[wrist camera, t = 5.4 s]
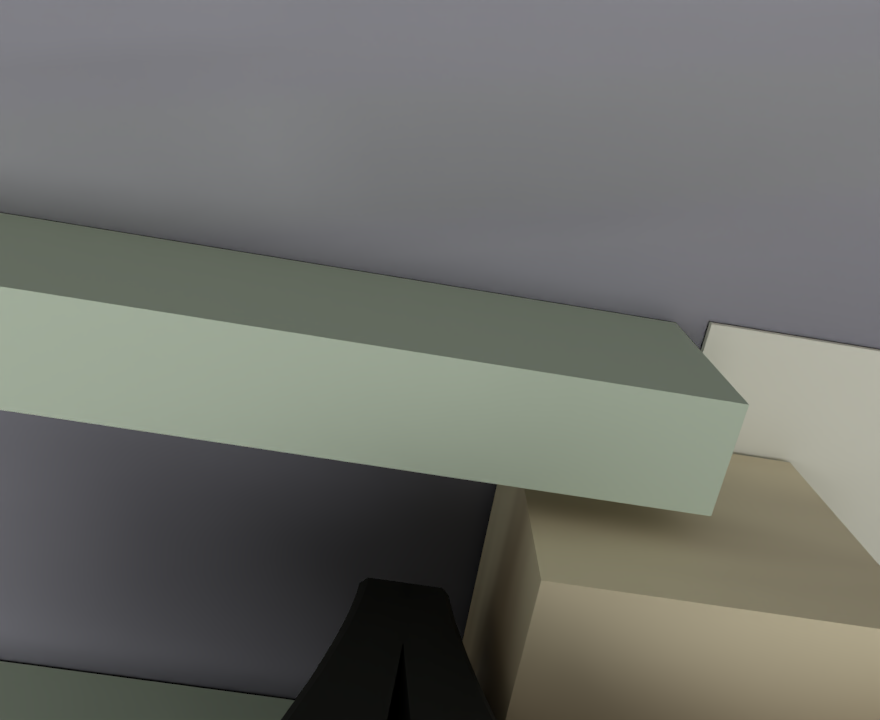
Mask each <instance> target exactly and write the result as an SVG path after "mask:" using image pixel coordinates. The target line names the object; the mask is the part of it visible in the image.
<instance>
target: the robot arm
mask: <svg viewBox="0 0 880 720" xmlns="http://www.w3.org/2000/svg"><path fill="white" fill-rule="evenodd" d="M281 720H496V718H495V716H494V714H493V712H492V710H491V708H490V706H489V704H488V701H487V699H486V697H485V695H484V692H483V690H482V688H481V686H480V684H479V681H478V679H477V677H476V675H475V672H474V670H473V667H472V665H471V663H470V660H469V658H468V655H467V652H466V650H465V647H464V644H463V642H462V639H461V636H460V634H459V631H458V628H457V625H456V622H455V619H454V615H453V612H452V608H451V605H450V601H449V596H448V595H447V593H446V592H445V591H444V589H443V588H438V587H431V586H424V585H417V584H409V583H402V582H395V581H388V580H381V579H373V578H367V579H365V580H364V581H362V582H361V583H359V587H358V591H357V594H356V597H355V599H354V602H353V604H352V606H351V609H350V611H349V613H348V615H347V617H346V619H345V621H344V623H343V625H342V627H341V629H340V630H339V632H338V634H337V636H336V638H335V640H334V641H333V643H332V645H331V646H330V648H329V649H328V651H327V653H326V654H325V656H324V658H323V659H322V661H321V662H320V664H319V666H318V667H317V669H316V671H315V672H314V674H313V675H312V677H311V678H310V680H309V681H308V683H307V684H306V685H305V687H304V688H303V690H302V691H301V692H300V694H299V695H298V697H297V698H296V699H295V701H294V702H293V704H292V705H291V706H290V708H289V709H288V710H287V712H286V713H285V715H284V716H283V717H282V719H281Z"/></svg>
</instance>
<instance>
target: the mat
mask: <svg viewBox="0 0 880 720" xmlns="http://www.w3.org/2000/svg"><path fill="white" fill-rule="evenodd" d="M701 352H702V353H703V354H704V355H705V356H706V357H707V358H708V359H709V361H710V362H711V363H712V364H713V365H714V366H715V367H716V368H717V369H718V371H719V372H720V373H721V374H722V375H723V376H724V377H725V378H726V380H727V381H728V382H729V383H730V384H731V385H732V386H733V387H734V388H735V390H736V391H737V392H738V393H739V394H740V395H741V396H742V397H743V398H744V400H745V401H746V402H747V403H748V404H749V406H748V409H747V412H746V415H745V418H744V421H743V424H742V427H741V430H740V433H739V436H738V439H737V442H736V445H735V448H734V451H733V454H738V455H745V456H751V457H758V458H764V459H771V460H777V461H784V462H790V463H791V464H792V465H793V467H794V468H795V469H796V470H797V471H798V472H799V473H800V475H801V476H802V477H803V478H804V479H805V480H806V481H807V483H808V484H809V485H810V486H811V487H812V488H813V490H814V491H815V492H816V493H817V494H818V495H819V496H820V498H821V499H822V500H823V501H824V502H825V503H826V504H827V506H828V507H829V508H830V509H831V510H832V511H833V513H834V514H835V515H836V516H837V517H838V518H839V519H840V521H841V522H842V523H843V524H844V525H845V526H846V527H847V529H848V530H849V531H850V532H851V533H852V534H853V536H854V537H855V538H856V539H857V540H858V541H859V542H860V544H861V545H862V546H863V547H864V548H865V549H866V550H867V552H868V553H869V554H870V555H871V556H872V557H873V559H874V560H875V561H876V562H877V563H878V564H879V565H880V350H879V349H873V348H867V347H861V346H855V345H849V344H843V343H837V342H830V341H824V340H818V339H812V338H806V337H800V336H794V335H788V334H781V333H775V332H769V331H763V330H757V329H751V328H745V327H739V326H733V325H726V324H720V323H714V322H709V325H708V329H707V332H706V335H705V338H704V342H703V345H702V348H701Z"/></svg>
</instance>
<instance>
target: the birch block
mask: <svg viewBox="0 0 880 720" xmlns="http://www.w3.org/2000/svg"><path fill="white" fill-rule="evenodd" d="M462 642H463V644H464V647H465V650H466V652H467V655H468V658H469V660H470V663H471V665H472V667H473V670H474V672H475V675H476V677H477V679H478V681H479V684H480V686H481V688H482V690H483V692H484V695H485V697H486V699H487V701H488V704H489V706H490V708H491V710H492V712H493V714H494V716H495V718H496V720H880V565H879V564H878V563H877V562H876V561H875V560H874V559H873V557H872V556H871V555H870V554H869V553H868V552H867V550H866V549H865V548H864V547H863V546H862V545H861V544H860V542H859V541H858V540H857V539H856V538H855V537H854V536H853V534H852V533H851V532H850V531H849V530H848V529H847V527H846V526H845V525H844V524H843V523H842V522H841V521H840V519H839V518H838V517H837V516H836V515H835V514H834V513H833V511H832V510H831V509H830V508H829V507H828V506H827V504H826V503H825V502H824V501H823V500H822V499H821V498H820V496H819V495H818V494H817V493H816V492H815V491H814V490H813V488H812V487H811V486H810V485H809V484H808V483H807V481H806V480H805V479H804V478H803V477H802V476H801V475H800V473H799V472H798V471H797V470H796V469H795V468H794V467H793V465H792V464H791V463H790V462H784V461H777V460H771V459H764V458H758V457H751V456H745V455H738V454H732V456H731V459H730V462H729V465H728V468H727V471H726V474H725V477H724V480H723V483H722V486H721V489H720V492H719V495H718V498H717V501H716V503H715V506H714V509H713V512H712V515H711V516H706V515H699V514H692V513H686V512H679V511H672V510H666V509H659V508H652V507H645V506H639V505H632V504H625V503H619V502H612V501H605V500H599V499H592V498H585V497H579V496H572V495H565V494H559V493H552V492H545V491H539V490H532V489H525V488H519V487H512V486H505V485H499V484H497V487H496V492H495V496H494V501H493V505H492V510H491V514H490V519H489V523H488V528H487V532H486V537H485V541H484V546H483V551H482V555H481V560H480V564H479V569H478V573H477V578H476V582H475V587H474V591H473V596H472V601H471V605H470V610H469V614H468V619H467V623H466V628H465V632H464V637H463V641H462Z"/></svg>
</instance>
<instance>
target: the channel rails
mask: <svg viewBox="0 0 880 720" xmlns="http://www.w3.org/2000/svg"><path fill="white" fill-rule="evenodd" d="M748 406H749V404H748V403H747V402H746V401H745V400H744V398H743V397H742V396H741V395H740V394H739V393H738V392H737V391H736V390H735V388H734V387H733V386H732V385H731V384H730V383H729V382H728V381H727V380H726V378H725V377H724V376H723V375H722V374H721V373H720V372H719V371H718V369H717V368H716V367H715V366H714V365H713V364H712V363H711V362H710V361H709V359H708V358H707V357H706V356H705V355H704V354H703V353H702V352H701V351H700V349H699V348H698V347H697V346H696V345H695V344H694V343H693V342H692V341H691V339H690V338H689V337H688V336H687V335H686V334H685V333H684V332H683V330H682V329H681V328H680V327H679V326H678V325H677V324H676V323H674V322H668V321H662V320H656V319H650V318H643V317H637V316H631V315H625V314H619V313H613V312H607V311H600V310H594V309H588V308H582V307H576V306H570V305H564V304H557V303H551V302H545V301H539V300H533V299H527V298H521V297H514V296H508V295H502V294H496V293H490V292H484V291H478V290H472V289H465V288H459V287H453V286H447V285H441V284H435V283H429V282H422V281H416V280H410V279H404V278H398V277H392V276H386V275H379V274H373V273H367V272H361V271H355V270H349V269H343V268H336V267H330V266H324V265H318V264H312V263H306V262H300V261H294V260H287V259H281V258H275V257H269V256H263V255H257V254H251V253H244V252H238V251H232V250H226V249H220V248H214V247H208V246H201V245H195V244H189V243H183V242H177V241H171V240H165V239H159V238H152V237H146V236H140V235H134V234H128V233H122V232H116V231H109V230H103V229H97V228H91V227H85V226H79V225H73V224H66V223H60V222H54V221H48V220H42V219H36V218H30V217H23V216H17V215H11V214H5V213H0V410H5V411H11V412H18V413H25V414H31V415H38V416H45V417H51V418H58V419H65V420H71V421H78V422H85V423H91V424H98V425H105V426H111V427H118V428H125V429H131V430H138V431H145V432H151V433H158V434H165V435H171V436H178V437H185V438H191V439H198V440H205V441H212V442H218V443H225V444H232V445H238V446H245V447H252V448H258V449H265V450H272V451H278V452H285V453H292V454H298V455H305V456H312V457H318V458H325V459H332V460H338V461H345V462H352V463H358V464H365V465H372V466H378V467H385V468H392V469H398V470H405V471H412V472H418V473H425V474H432V475H438V476H445V477H452V478H459V479H465V480H472V481H479V482H485V483H492V484H499V485H505V486H512V487H519V488H525V489H532V490H539V491H545V492H552V493H559V494H565V495H572V496H579V497H585V498H592V499H599V500H605V501H612V502H619V503H625V504H632V505H639V506H645V507H652V508H659V509H666V510H672V511H679V512H686V513H692V514H699V515H706V516H711V515H712V512H713V509H714V506H715V503H716V501H717V498H718V495H719V492H720V489H721V486H722V483H723V480H724V477H725V474H726V471H727V468H728V465H729V462H730V459H731V456H732V454H733V451H734V448H735V445H736V442H737V439H738V436H739V433H740V430H741V427H742V424H743V421H744V418H745V415H746V412H747V409H748ZM294 701H295V700H289V699H281V698H274V697H266V696H259V695H251V694H244V693H236V692H229V691H221V690H214V689H206V688H199V687H191V686H184V685H176V684H169V683H161V682H153V681H146V680H138V679H131V678H123V677H116V676H108V675H101V674H93V673H86V672H78V671H71V670H63V669H56V668H48V667H41V666H33V665H26V664H18V663H11V662H3V661H0V720H281V719H282V717H283V716H284V715H285V713H286V712H287V710H288V709H289V708H290V706H291V705H292V704H293V702H294Z"/></svg>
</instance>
